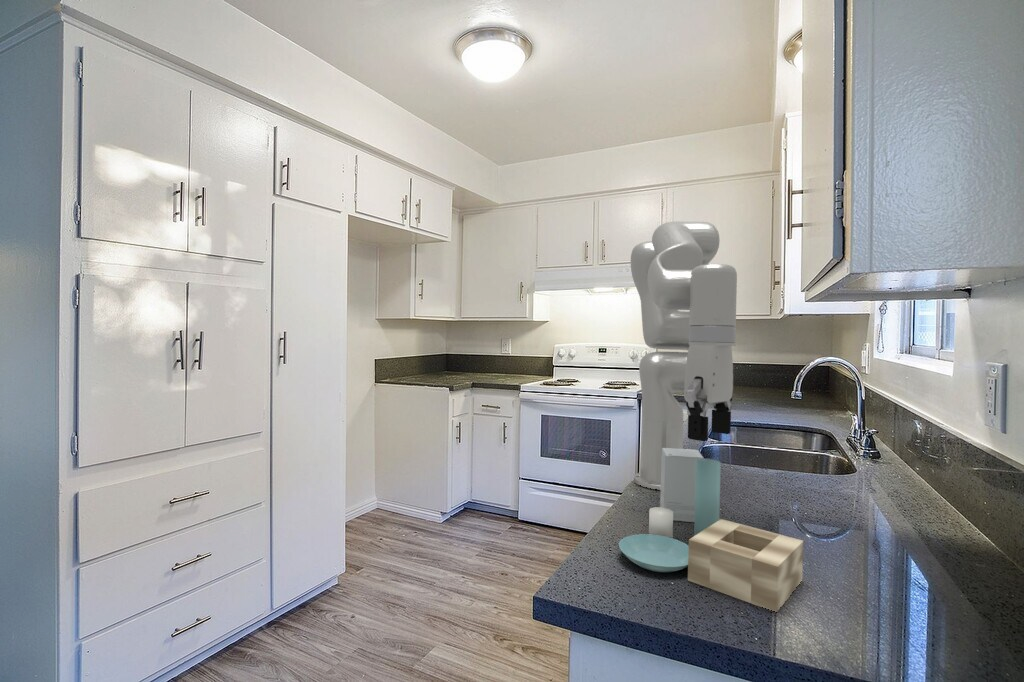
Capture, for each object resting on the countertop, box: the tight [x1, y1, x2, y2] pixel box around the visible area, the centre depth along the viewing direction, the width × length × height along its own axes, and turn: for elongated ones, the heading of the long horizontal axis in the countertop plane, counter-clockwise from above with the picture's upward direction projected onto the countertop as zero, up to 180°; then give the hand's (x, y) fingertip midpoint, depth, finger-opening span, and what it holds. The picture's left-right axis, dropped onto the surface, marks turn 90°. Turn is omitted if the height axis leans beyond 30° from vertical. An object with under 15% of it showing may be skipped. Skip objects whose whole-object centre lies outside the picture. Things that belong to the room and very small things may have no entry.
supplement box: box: [659, 448, 704, 523], centre depth 102 cm, size 7×7×13 cm
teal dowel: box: [693, 457, 722, 537], centre depth 89 cm, size 4×4×14 cm
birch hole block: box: [687, 518, 804, 613], centre depth 75 cm, size 12×12×6 cm
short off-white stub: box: [648, 506, 674, 539], centre depth 90 cm, size 4×4×5 cm
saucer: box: [618, 533, 689, 573], centre depth 81 cm, size 12×12×2 cm
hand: (709, 436), depth 89 cm, fingers open, 9 cm apart
